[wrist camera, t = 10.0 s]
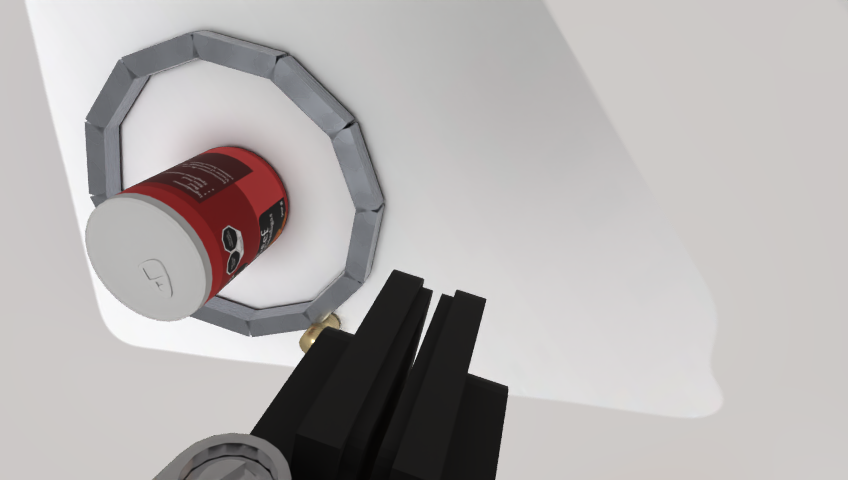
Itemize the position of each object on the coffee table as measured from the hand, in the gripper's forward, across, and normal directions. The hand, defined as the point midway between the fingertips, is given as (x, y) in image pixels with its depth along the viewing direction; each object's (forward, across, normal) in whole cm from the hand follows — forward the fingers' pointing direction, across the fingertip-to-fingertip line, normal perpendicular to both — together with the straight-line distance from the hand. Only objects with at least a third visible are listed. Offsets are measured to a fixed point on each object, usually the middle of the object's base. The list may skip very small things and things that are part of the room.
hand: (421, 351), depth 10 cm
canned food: (+27, +18, +13) cm, 35 cm away
